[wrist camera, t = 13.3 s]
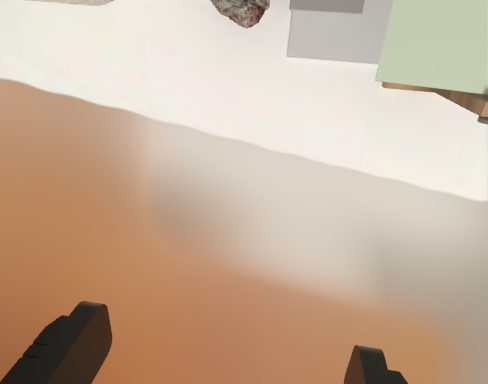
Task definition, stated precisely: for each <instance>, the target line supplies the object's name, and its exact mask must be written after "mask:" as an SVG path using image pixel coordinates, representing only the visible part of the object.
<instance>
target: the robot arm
mask: <svg viewBox="0 0 488 384" xmlns="http://www.w3.org/2000/svg"><path fill="white" fill-rule="evenodd" d="M28 1H42V2H55V3H67V4H80V5H95V6H97V5H103V4H106V3H108V2H111V1H113V0H28ZM111 343H112V332H111V326H110V320H109V314H108V308H107V306H106V305H105V304H99V303H93V302H87V301H82V302H80V303H79V304H78V305H77V306H76V307H75V309H74V310H73V311H72V313H71V314H70V315H69V316H63V315H62V316H60V317H59V318H57V319H56V320H55V321H53V322H52V323H50V324H49V325H48V326H46V327H45V329H43V331H42V332H41V333H40V334H39V335H38V337H37V338H36V339H35V340H34V342H33V344H32V345H30V347H29V348H28V349H27V350H26V351H25V352H24V354H23V357H22V358H20V359H19V360H18V361H17V362H16V363H15V365H14V366H13V367H12V368H11V370H10V371H9V372H8V373H7V374H6V376H5V377H4V378H3V379H2V380H1V382H0V384H91V383H92V382H93V380H94V378H95V376H96V375H97V373H98V371H99V369H100V367H101V366H102V364H103V362H104V361H105V359H106V357H107V355H108V353H109V350H110V347H111ZM344 384H408V383H407V382H406V380H405V379H404V378H403V376H402V374H401V373H400V372H397V371H391V370H388V369H387V365H386V361H385V357H384V354H383V351H382V350H381V349H376V348H370V347H364V346H358V345H356V346H355V347H354V349H353V352H352V355H351V358H350V362H349V365H348V368H347V371H346V374H345V379H344Z"/></svg>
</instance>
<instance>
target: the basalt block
mask: <svg viewBox="0 0 488 384" xmlns="http://www.w3.org/2000/svg"><path fill="white" fill-rule="evenodd" d="M364 1H365V0H290V7H289V9H290V10H291V11H306V12H321V13H336V14H351V15H356V14H362V11H363V6H364Z"/></svg>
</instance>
